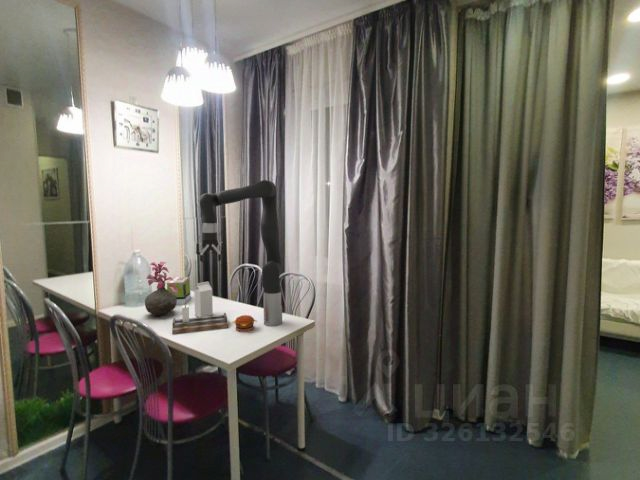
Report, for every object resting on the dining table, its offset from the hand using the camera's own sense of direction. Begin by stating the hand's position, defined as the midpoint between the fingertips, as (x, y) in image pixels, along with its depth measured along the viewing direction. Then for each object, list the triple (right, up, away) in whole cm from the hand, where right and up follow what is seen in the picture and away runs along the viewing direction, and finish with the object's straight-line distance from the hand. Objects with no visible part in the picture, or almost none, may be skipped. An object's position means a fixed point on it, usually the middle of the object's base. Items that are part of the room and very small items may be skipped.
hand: (210, 261), depth 177 cm
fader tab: (-10, -31, -9) cm, 34 cm away
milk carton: (-7, -31, +10) cm, 34 cm away
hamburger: (+20, -34, -9) cm, 40 cm away
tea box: (-32, -28, +35) cm, 55 cm away
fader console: (-3, -33, -6) cm, 34 cm away
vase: (-31, -31, +11) cm, 45 cm away
